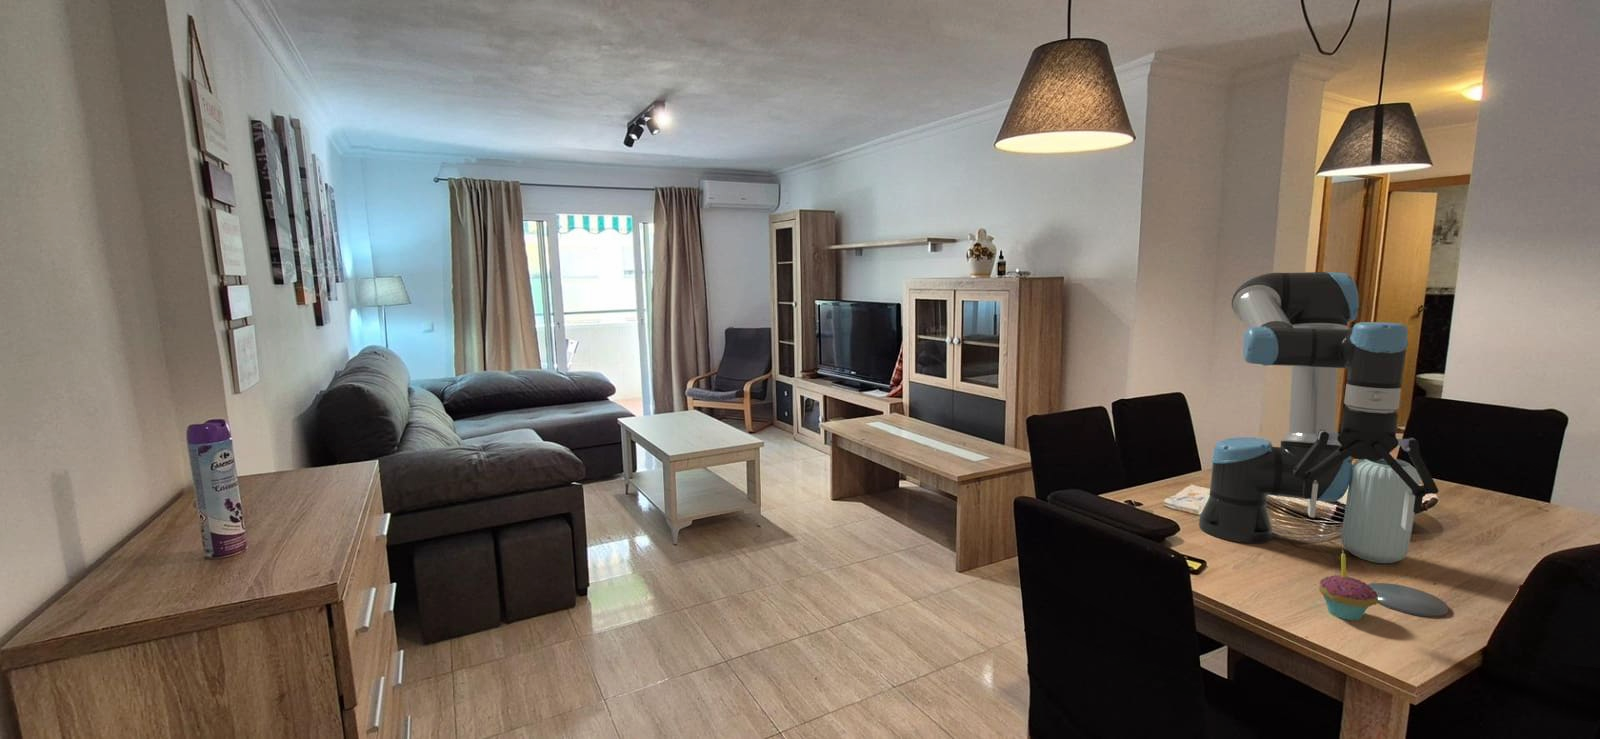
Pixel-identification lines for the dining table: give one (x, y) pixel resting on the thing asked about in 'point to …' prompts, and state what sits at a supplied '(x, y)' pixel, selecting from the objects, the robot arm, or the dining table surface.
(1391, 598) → the coaster
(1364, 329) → the robot arm
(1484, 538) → the dining table surface
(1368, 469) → the vase
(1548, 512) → the dining table surface
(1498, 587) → the dining table surface
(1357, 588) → the cupcake
